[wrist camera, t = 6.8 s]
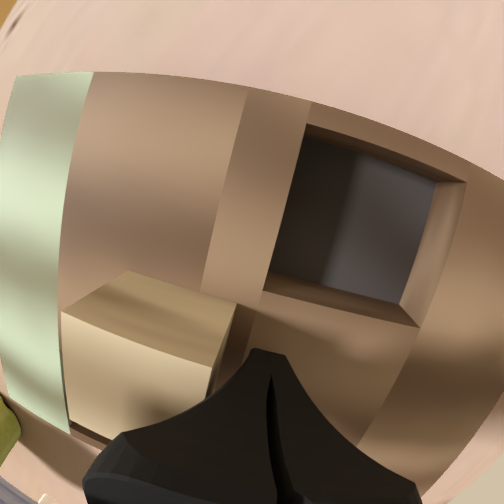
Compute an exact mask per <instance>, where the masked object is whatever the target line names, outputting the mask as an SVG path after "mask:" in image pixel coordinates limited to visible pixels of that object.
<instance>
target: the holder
mask: <svg viewBox="0 0 504 504" xmlns="http://www.w3.org/2000/svg"><path fill="white" fill-rule="evenodd" d="M38 503H39V504H61V503H59V502H58V501H56V500H55V499H53V498H52V497H50V496H48V495H47V494H45V493H44V495H43V496H42V497H41V499H40V500H39V502H38Z"/></svg>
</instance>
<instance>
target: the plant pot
mask: <svg viewBox="0 0 504 504" xmlns="http://www.w3.org/2000/svg"><path fill="white" fill-rule="evenodd" d="M20 436H21V428H20V425H19V422H18V420H17V418H16V416H15V415H14V413H13V412H12V411H11V410H9V409H8V408H7V407H6V406H5V404H4V402H3V400H2V397H1V396H0V467H1V465H2V463H3V462H4V460H5V459H6V457H7V455H8V454H9V452H10V451H11V449H12V448H13V446H14V445H15V443H16V442H17V440H18V439H19V437H20Z"/></svg>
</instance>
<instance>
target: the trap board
mask: <svg viewBox="0 0 504 504" xmlns="http://www.w3.org/2000/svg"><path fill="white" fill-rule="evenodd" d="M128 270H129V271H132V272H135V273H138V274H141V275H144V276H147V277H151V278H154V279H157V280H160V281H163V282H167V283H170V284H173V285H176V286H180V287H183V288H186V289H190V290H193V291H196V292H200V293H203V294H207V295H210V296H213V297H217V298H220V299H224V300H228V301H231V302H235V303H237V305H236V309H235V312H234V316H233V320H232V324H231V328H230V332H229V336H228V339H227V343H226V347H225V351H224V355H223V359H222V363H221V366H220V370H219V374H218V378H217V382H216V386H215V390H214V392H215V391H217V390H218V389H219V388H220V387H221V386H222V385H223V384H225V383H226V382H227V381H228V380H229V379H230V378H231V377H232V376H233V375H234V374H235V373H236V372H237V370H238V369H239V368H240V367H241V366H242V364H243V363H244V362H245V360H246V359H247V357H248V355H249V353H250V350H251V349H253V348H258V349H262V350H266V351H270V352H274V353H278V354H283V355H285V356H286V357H287V359H288V361H289V363H290V365H291V367H292V369H293V370H294V372H295V374H296V376H297V378H298V379H299V381H300V383H301V385H302V386H303V388H304V389H305V391H306V393H307V394H308V396H309V397H310V398H311V400H312V401H313V402H314V404H315V405H316V407H317V408H318V409H319V410H320V412H321V413H322V414H323V415H324V417H325V418H326V419H327V420H328V421H329V422H330V423H331V424H332V425H333V426H334V427H335V428H336V429H337V430H338V431H339V432H340V433H341V434H342V435H343V436H344V437H345V438H346V439H347V440H348V441H350V442H351V443H352V444H353V445H354V446H355V447H357V448H358V449H359V450H361V451H362V452H363V453H365V454H366V455H367V456H369V457H370V458H372V459H373V460H375V461H376V462H378V463H379V464H381V465H382V466H384V467H386V468H387V469H389V470H391V471H393V472H395V473H397V474H399V475H401V476H403V477H405V478H407V479H409V480H411V481H413V482H415V484H416V486H417V489H418V492H419V495H420V498H421V497H422V496H423V495H424V494H425V493H426V492H427V491H428V490H429V488H430V487H431V486H432V485H433V484H434V483H435V482H436V481H437V480H438V479H439V478H440V477H441V475H442V474H443V473H444V472H445V471H446V470H447V469H448V467H449V466H450V465H451V464H452V463H453V462H454V460H455V459H456V458H457V457H458V455H459V454H460V453H461V452H462V450H463V449H464V448H465V447H466V445H467V444H468V443H469V441H470V440H471V439H472V437H473V436H474V435H475V433H476V432H477V431H478V429H479V428H480V426H481V425H482V423H483V422H484V421H485V419H486V418H487V416H488V415H489V413H490V412H491V410H492V408H493V407H494V405H495V404H496V402H497V401H498V399H499V397H500V396H501V394H502V392H503V391H504V180H502V179H500V178H499V177H497V176H495V175H493V174H491V173H490V172H488V171H486V170H484V169H482V168H480V167H478V166H477V165H475V164H473V163H471V162H469V161H467V160H465V159H463V158H461V157H459V156H457V155H455V154H453V153H451V152H448V151H446V150H444V149H442V148H440V147H438V146H435V145H433V144H431V143H429V142H426V141H424V140H422V139H419V138H417V137H415V136H412V135H410V134H407V133H405V132H402V131H400V130H397V129H395V128H392V127H389V126H387V125H384V124H381V123H378V122H376V121H373V120H370V119H367V118H364V117H361V116H358V115H355V114H352V113H349V112H346V111H343V110H339V109H336V108H333V107H329V106H326V105H323V104H319V103H315V102H312V101H308V100H304V99H300V98H296V97H292V96H288V95H284V94H280V93H276V92H271V91H266V90H262V89H257V88H252V87H247V86H241V85H236V84H230V83H224V82H218V81H211V80H204V79H197V78H188V77H180V76H170V75H159V74H145V73H126V72H66V73H48V74H35V75H25V76H16V79H15V82H14V86H13V89H12V92H11V96H10V100H9V103H8V107H7V111H6V115H5V119H4V124H3V128H2V133H1V138H0V358H1V363H2V368H3V372H4V377H5V381H6V385H7V389H8V393H9V397H10V398H12V399H13V400H14V401H16V402H17V403H19V404H20V405H22V406H23V407H25V408H26V409H28V410H29V411H31V412H32V413H34V414H36V415H37V416H39V417H40V418H42V419H44V420H45V421H47V422H49V423H50V424H52V425H54V426H56V427H57V428H59V429H61V430H63V431H64V432H66V433H68V434H70V435H72V436H74V437H76V438H78V439H79V440H81V441H83V442H85V443H87V444H89V445H91V446H93V447H96V448H98V449H100V450H102V451H103V449H104V448H105V447H106V446H107V445H108V444H109V443H110V442H111V441H112V440H111V439H109V438H106V437H104V436H102V435H100V434H98V433H96V432H94V431H92V430H90V429H88V428H86V427H84V426H82V425H80V424H78V423H76V422H74V421H72V420H70V418H69V412H68V405H67V397H66V389H65V379H64V369H63V355H62V336H61V311H62V310H64V309H65V308H67V307H69V306H70V305H72V304H73V303H75V302H77V301H78V300H80V299H81V298H83V297H85V296H86V295H88V294H90V293H91V292H93V291H95V290H96V289H98V288H100V287H101V286H103V285H105V284H106V283H108V282H110V281H111V280H113V279H115V278H116V277H118V276H120V275H121V274H123V273H125V272H126V271H128Z"/></svg>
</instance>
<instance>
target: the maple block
mask: <svg viewBox="0 0 504 504" xmlns="http://www.w3.org/2000/svg"><path fill="white" fill-rule="evenodd" d="M236 305H237V303H235V302H231V301H228V300H224V299H220V298H217V297H213V296H210V295H207V294H203V293H200V292H196V291H193V290H190V289H186V288H183V287H180V286H176V285H173V284H170V283H167V282H163V281H160V280H157V279H154V278H151V277H147V276H144V275H141V274H138V273H135V272H132V271H129V270H128V271H126V272H125V273H123V274H121V275H120V276H118V277H116V278H115V279H113V280H111V281H110V282H108V283H106V284H105V285H103V286H101V287H100V288H98V289H96V290H95V291H93V292H91V293H90V294H88V295H86V296H85V297H83V298H81V299H80V300H78V301H77V302H75V303H73V304H72V305H70V306H69V307H67V308H65V309H64V310H62V311H61V336H62V355H63V369H64V379H65V389H66V397H67V405H68V412H69V418H70V420H72V421H74V422H76V423H78V424H80V425H82V426H84V427H86V428H88V429H90V430H92V431H94V432H96V433H98V434H100V435H102V436H104V437H106V438H109V439H111V440H113V439H114V438H115V437H116V436H117V435H119V434H120V433H121V432H125V431H129V430H133V429H137V428H141V427H145V426H149V425H152V424H155V423H158V422H160V421H163V420H165V419H168V418H170V417H173V416H175V415H177V414H180V413H182V412H184V411H186V410H188V409H189V408H191V407H193V406H195V405H196V404H198V403H200V402H201V401H203V400H204V399H206V398H207V397H209V396H210V395H211V394H213V393H214V390H215V386H216V382H217V378H218V374H219V370H220V366H221V363H222V359H223V355H224V351H225V347H226V343H227V339H228V336H229V332H230V328H231V324H232V320H233V316H234V312H235V309H236Z"/></svg>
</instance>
